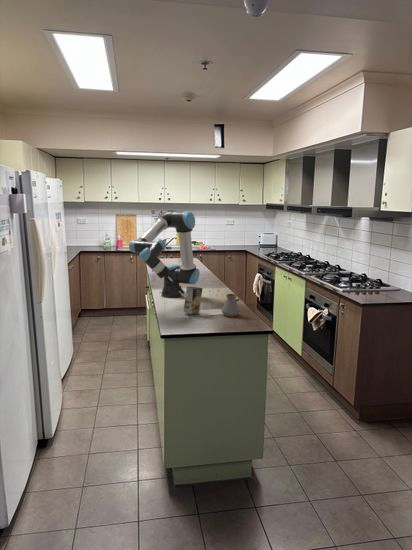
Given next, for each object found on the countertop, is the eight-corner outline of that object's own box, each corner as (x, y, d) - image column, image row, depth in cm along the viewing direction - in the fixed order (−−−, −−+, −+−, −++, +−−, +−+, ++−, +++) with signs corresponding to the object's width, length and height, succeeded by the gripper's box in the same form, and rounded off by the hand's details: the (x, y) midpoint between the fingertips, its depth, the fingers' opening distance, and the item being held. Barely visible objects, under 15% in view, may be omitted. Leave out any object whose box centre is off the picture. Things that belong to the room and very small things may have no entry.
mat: (195, 310, 258) (195, 310, 258) (221, 309, 264) (221, 308, 264) (201, 316, 247) (201, 315, 247) (228, 314, 253) (228, 313, 253)
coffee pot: (219, 312, 255) (220, 289, 251) (236, 311, 258) (237, 289, 254) (228, 323, 235) (230, 299, 231) (246, 323, 238) (248, 299, 234)
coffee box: (191, 314, 245) (194, 288, 244) (183, 312, 248) (186, 286, 247) (199, 313, 252) (202, 288, 251) (191, 311, 256) (194, 286, 255)
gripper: (154, 272, 244) (179, 298, 252) (158, 275, 232) (184, 302, 239) (163, 263, 245) (188, 290, 252) (167, 266, 233) (193, 294, 240)
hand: (186, 296), depth 246 cm, fingers closed
